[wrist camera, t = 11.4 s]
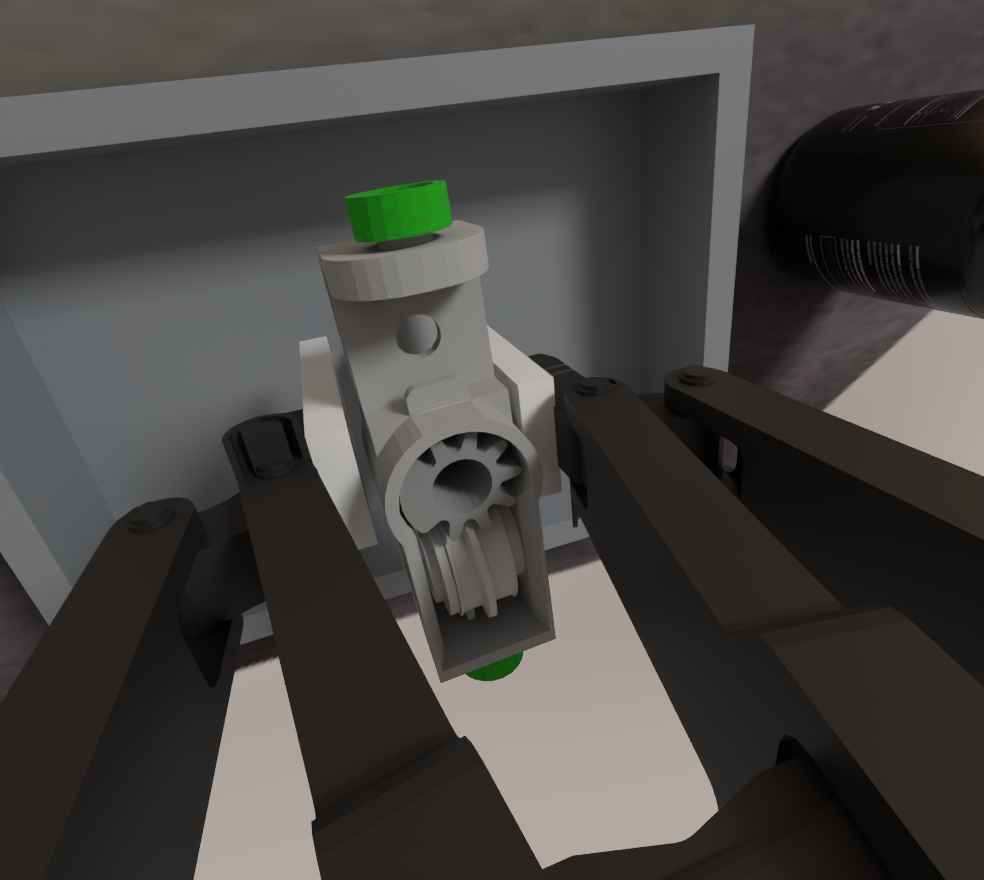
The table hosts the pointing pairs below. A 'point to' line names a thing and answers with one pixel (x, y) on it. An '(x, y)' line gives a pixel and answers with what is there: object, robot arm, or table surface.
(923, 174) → the supplement bottle
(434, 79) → the bin
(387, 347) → the mechanical component
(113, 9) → the table surface
